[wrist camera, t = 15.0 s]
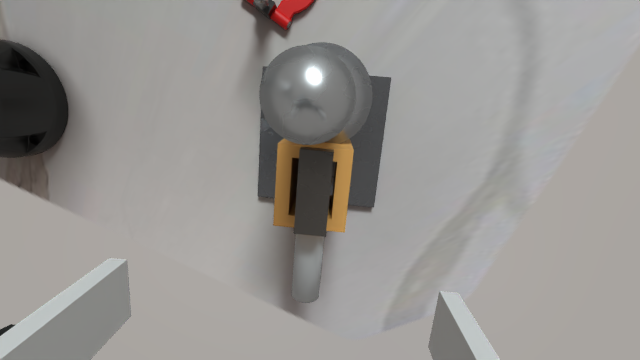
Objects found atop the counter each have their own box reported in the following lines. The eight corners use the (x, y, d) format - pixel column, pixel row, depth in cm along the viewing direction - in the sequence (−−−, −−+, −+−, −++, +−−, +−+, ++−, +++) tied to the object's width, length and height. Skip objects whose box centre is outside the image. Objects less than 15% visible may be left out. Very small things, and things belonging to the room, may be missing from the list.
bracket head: (281, 273, 42) (268, 313, 34) (289, 133, 38) (277, 143, 30) (334, 278, 42) (334, 320, 34) (350, 139, 38) (353, 150, 30)
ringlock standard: (259, 194, 46) (159, 321, 20) (265, 50, 41) (144, -30, 15) (373, 204, 46) (423, 349, 20) (392, 61, 41) (491, -2, 15)
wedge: (306, 192, 44) (293, 233, 31) (310, 132, 42) (299, 148, 29) (328, 194, 44) (325, 236, 30) (334, 134, 42) (333, 152, 28)
